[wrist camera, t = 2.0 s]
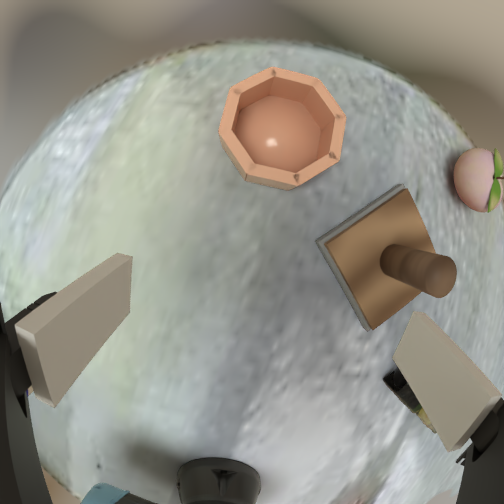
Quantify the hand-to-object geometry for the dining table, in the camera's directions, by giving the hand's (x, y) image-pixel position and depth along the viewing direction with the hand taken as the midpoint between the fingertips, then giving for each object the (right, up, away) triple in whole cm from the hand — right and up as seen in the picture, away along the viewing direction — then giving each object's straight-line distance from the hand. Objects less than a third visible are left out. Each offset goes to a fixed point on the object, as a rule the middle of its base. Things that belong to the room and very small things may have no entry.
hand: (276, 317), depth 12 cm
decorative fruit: (+30, +14, +22) cm, 40 cm away
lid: (+16, +2, +21) cm, 27 cm away
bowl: (+2, +17, +20) cm, 26 cm away
